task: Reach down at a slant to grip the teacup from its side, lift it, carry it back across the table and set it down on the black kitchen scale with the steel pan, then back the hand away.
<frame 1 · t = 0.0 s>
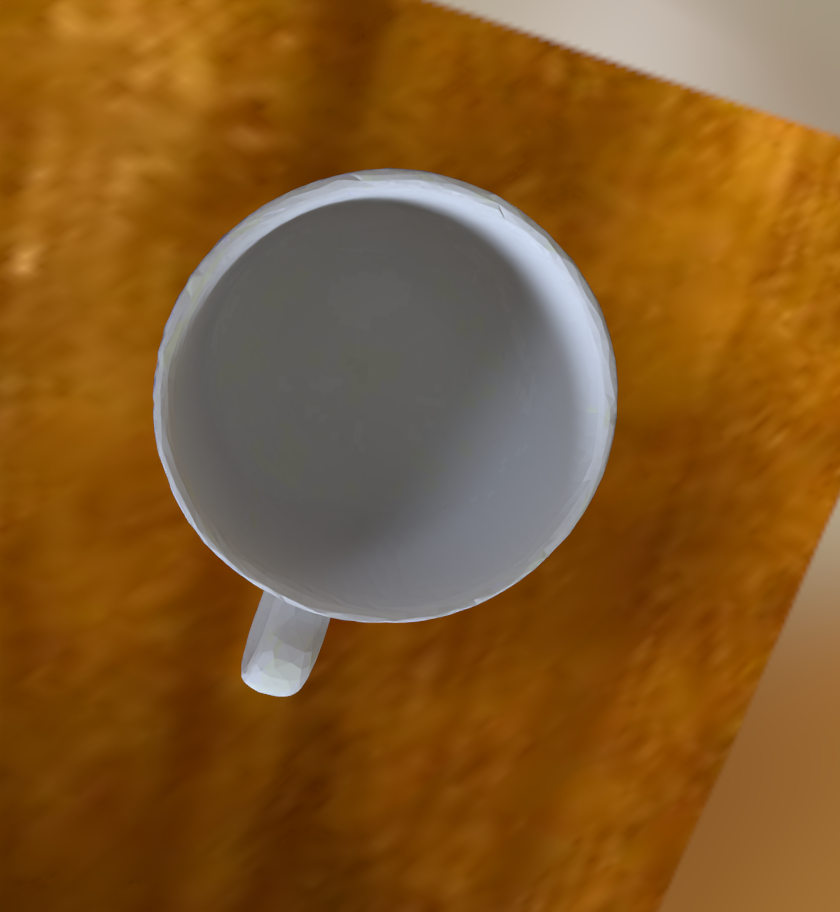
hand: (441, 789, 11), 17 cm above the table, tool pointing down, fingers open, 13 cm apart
teacup: (349, 402, 26), on the table
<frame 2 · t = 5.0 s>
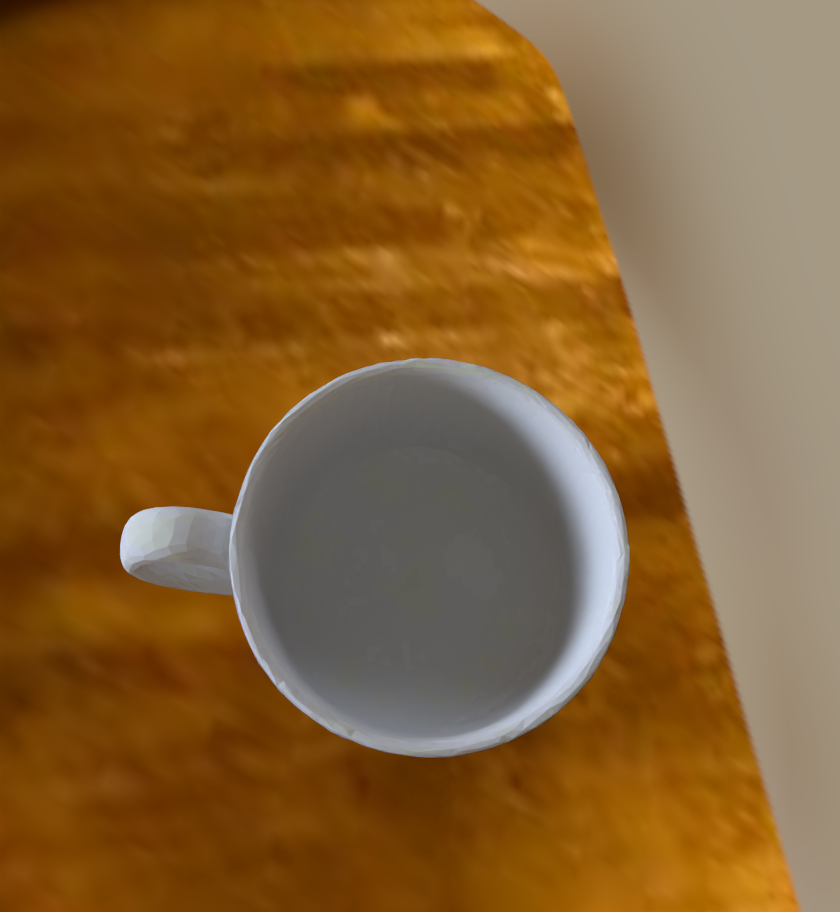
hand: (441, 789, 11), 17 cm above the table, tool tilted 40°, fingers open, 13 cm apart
teacup: (373, 596, 29), on the table
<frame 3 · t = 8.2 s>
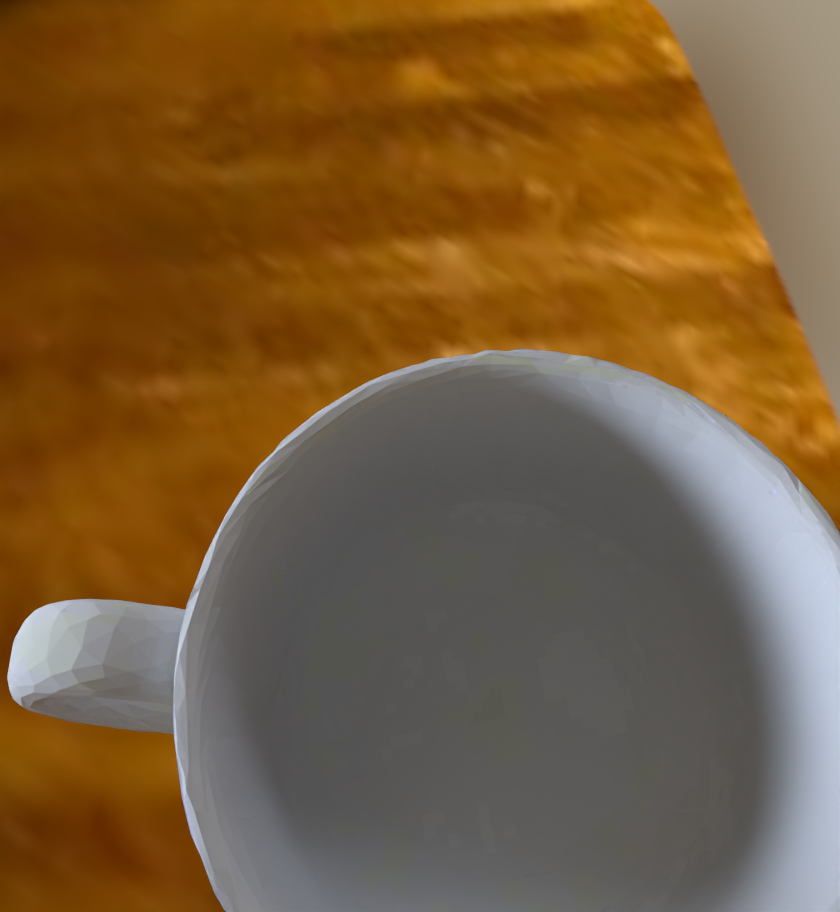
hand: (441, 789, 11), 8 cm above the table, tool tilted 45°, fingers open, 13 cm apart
teacup: (433, 727, 19), on the table, touching gripper
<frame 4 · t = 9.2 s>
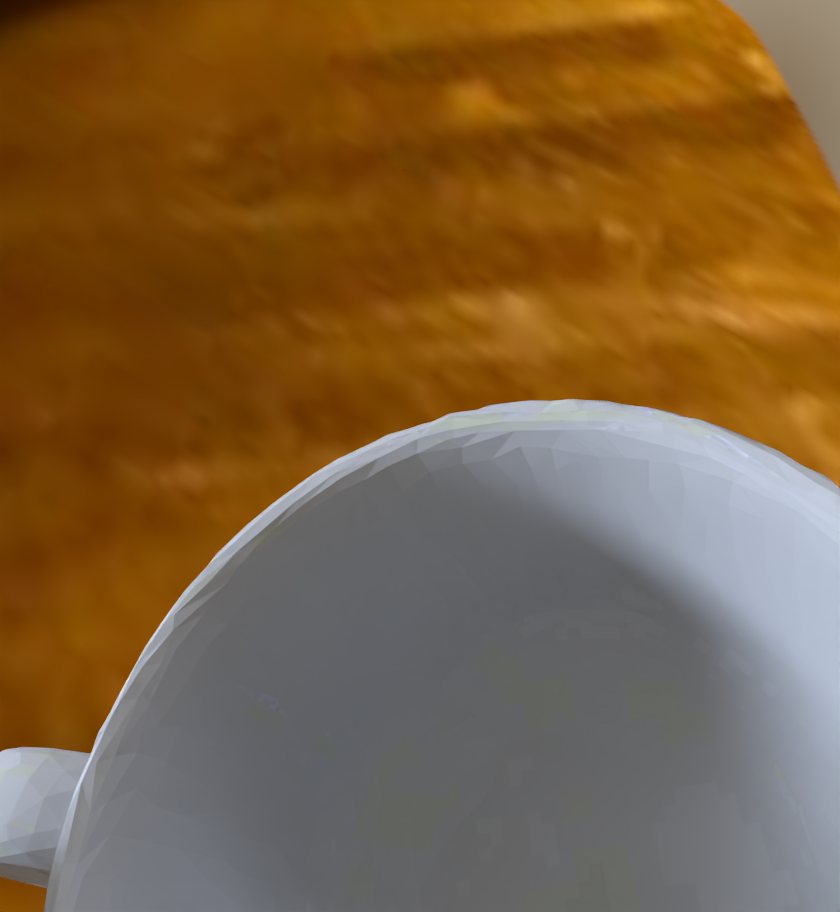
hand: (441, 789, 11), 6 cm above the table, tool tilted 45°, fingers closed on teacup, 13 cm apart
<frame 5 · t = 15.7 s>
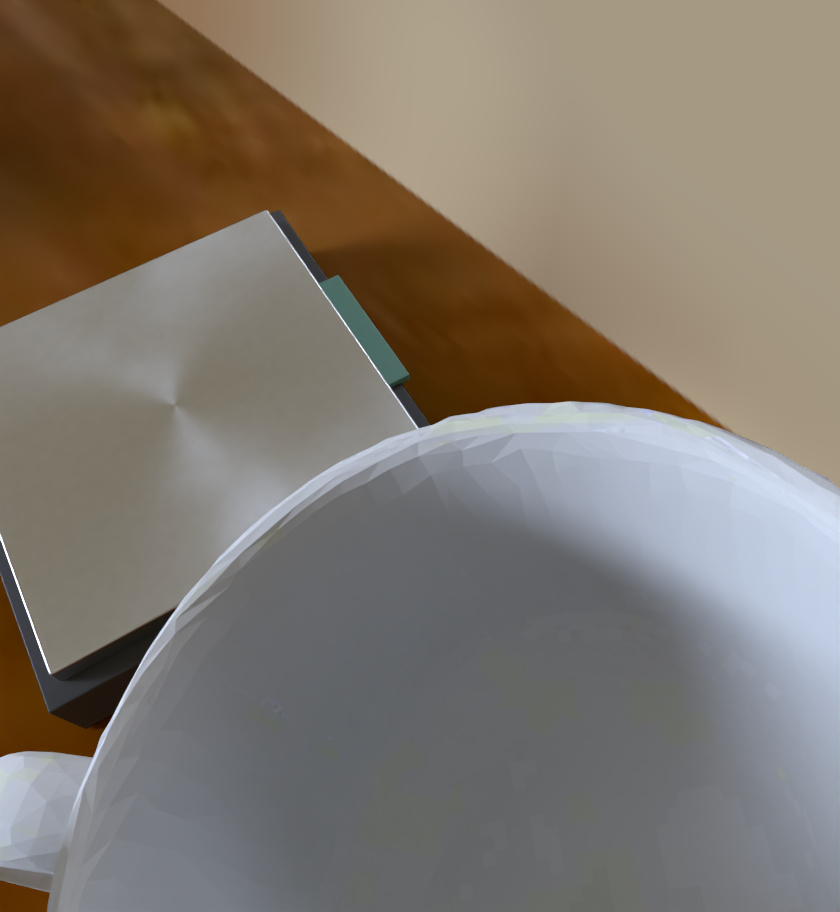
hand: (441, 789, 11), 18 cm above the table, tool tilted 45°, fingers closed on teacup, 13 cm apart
scale: (204, 456, 33), on the table
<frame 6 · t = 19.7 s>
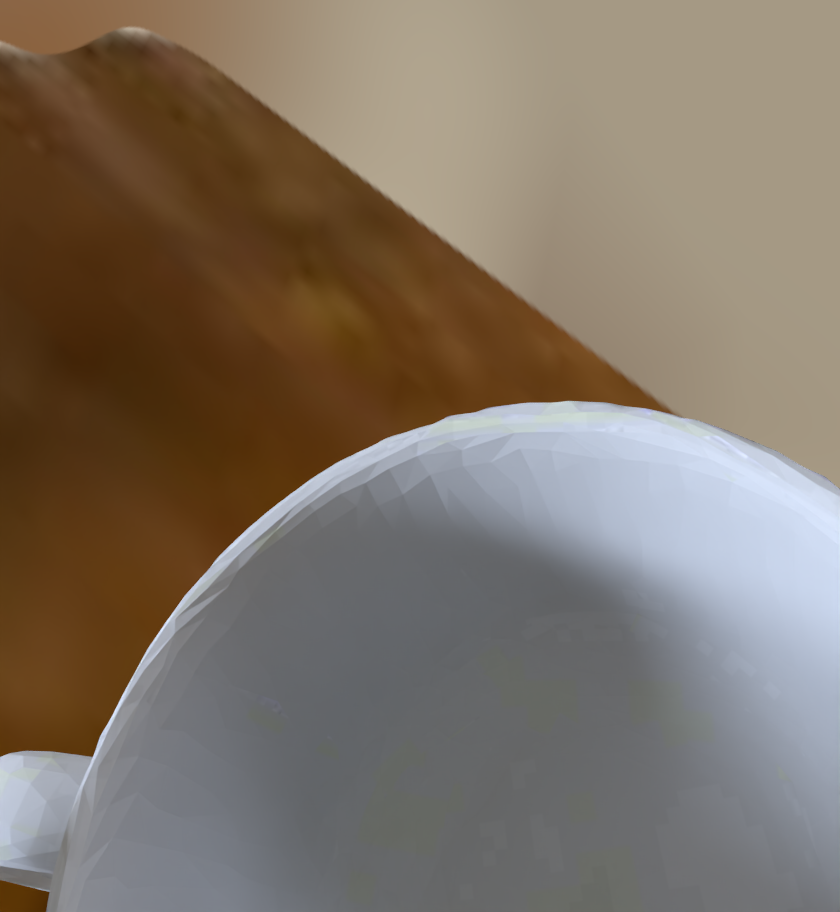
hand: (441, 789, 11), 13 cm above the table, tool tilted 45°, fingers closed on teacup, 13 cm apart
when the fingers open (10 cm above the table, at t = 22.4 s): teacup moves 2 cm, resting on scale.
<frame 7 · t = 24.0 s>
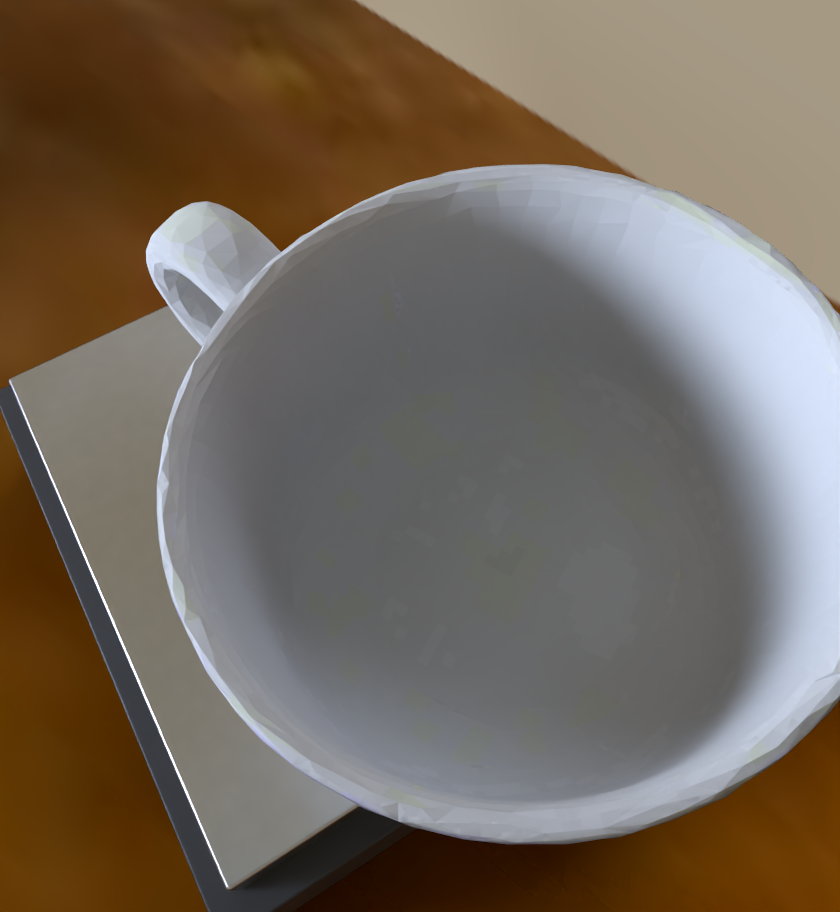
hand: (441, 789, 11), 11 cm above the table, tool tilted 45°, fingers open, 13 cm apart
scale: (377, 513, 24), on the table
teacup: (453, 554, 19), point 4 cm above the table, touching gripper, scale
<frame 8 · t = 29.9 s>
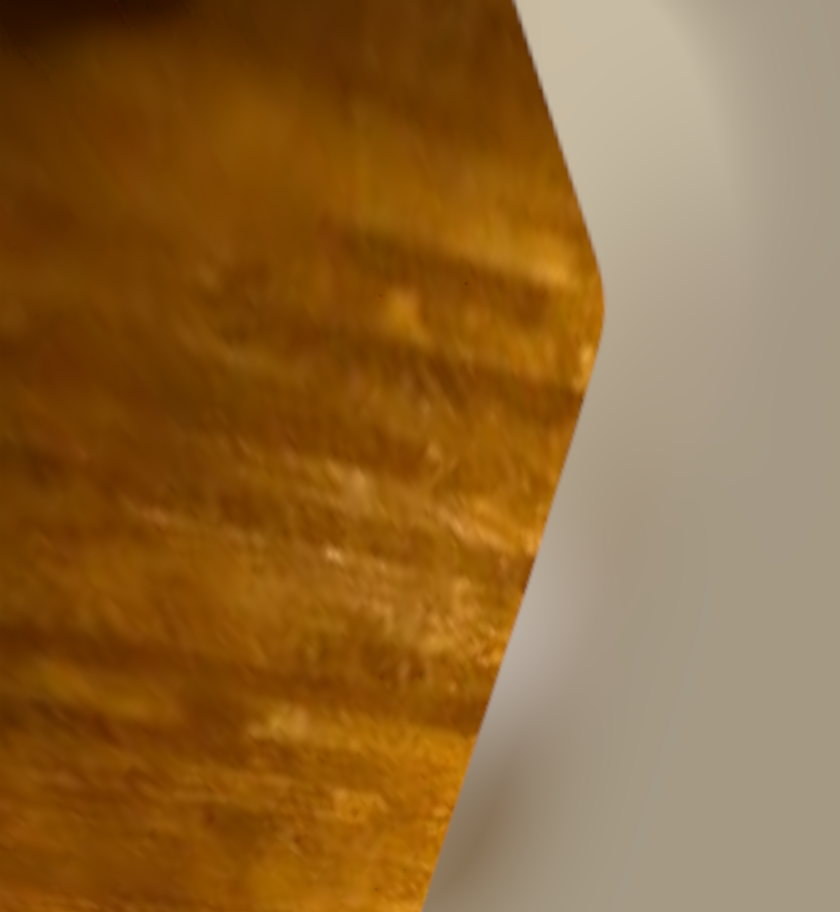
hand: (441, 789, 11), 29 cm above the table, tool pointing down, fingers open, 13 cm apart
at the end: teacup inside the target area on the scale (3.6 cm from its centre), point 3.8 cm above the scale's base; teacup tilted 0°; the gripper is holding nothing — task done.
